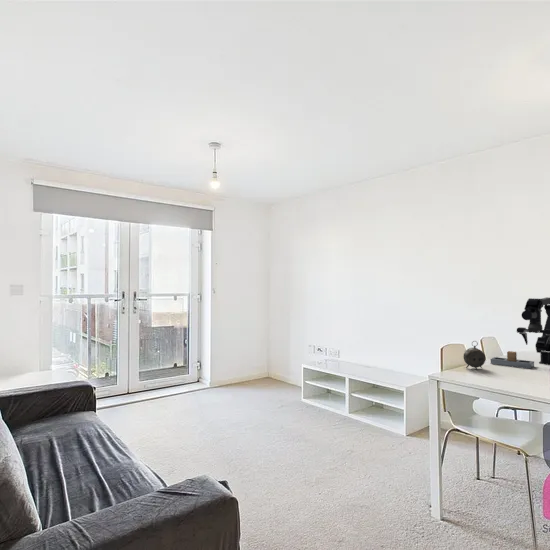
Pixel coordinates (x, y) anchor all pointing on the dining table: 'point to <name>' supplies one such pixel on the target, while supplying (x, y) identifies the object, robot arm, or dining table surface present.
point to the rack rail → (513, 362)
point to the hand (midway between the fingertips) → (535, 345)
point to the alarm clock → (474, 357)
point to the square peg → (511, 356)
